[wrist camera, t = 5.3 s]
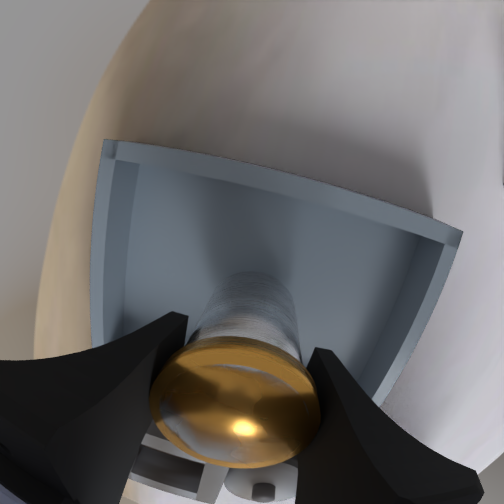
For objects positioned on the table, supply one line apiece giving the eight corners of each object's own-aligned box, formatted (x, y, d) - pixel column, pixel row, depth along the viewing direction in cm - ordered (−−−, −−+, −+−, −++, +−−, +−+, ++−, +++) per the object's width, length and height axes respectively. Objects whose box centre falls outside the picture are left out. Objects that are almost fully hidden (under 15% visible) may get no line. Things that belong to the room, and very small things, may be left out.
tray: (434, 218, 14) (463, 231, 11) (356, 396, 17) (364, 429, 14) (134, 142, 14) (103, 139, 11) (115, 337, 17) (93, 363, 15)
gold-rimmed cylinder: (314, 279, 13) (349, 375, 6) (284, 362, 14) (287, 477, 8) (213, 253, 13) (155, 329, 6) (195, 340, 14) (146, 444, 8)
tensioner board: (328, 419, 18) (334, 470, 14) (284, 483, 21) (283, 523, 17) (104, 360, 18) (72, 399, 14) (113, 437, 21) (94, 472, 17)
